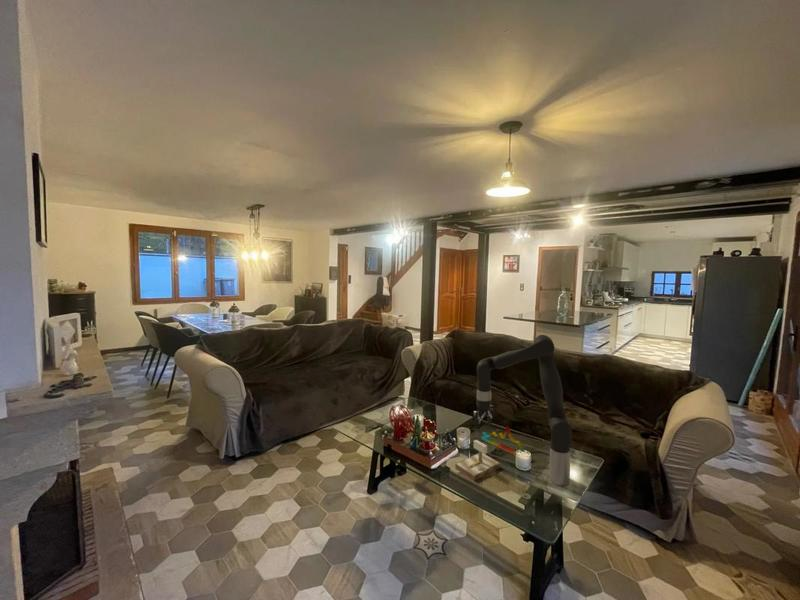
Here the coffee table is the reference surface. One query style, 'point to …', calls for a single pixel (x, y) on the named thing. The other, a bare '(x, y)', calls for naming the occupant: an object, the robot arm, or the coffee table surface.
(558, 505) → the coffee table surface
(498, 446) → the chart
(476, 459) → the desk tray with supplies
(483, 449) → the wooden mallet
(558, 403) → the robot arm
